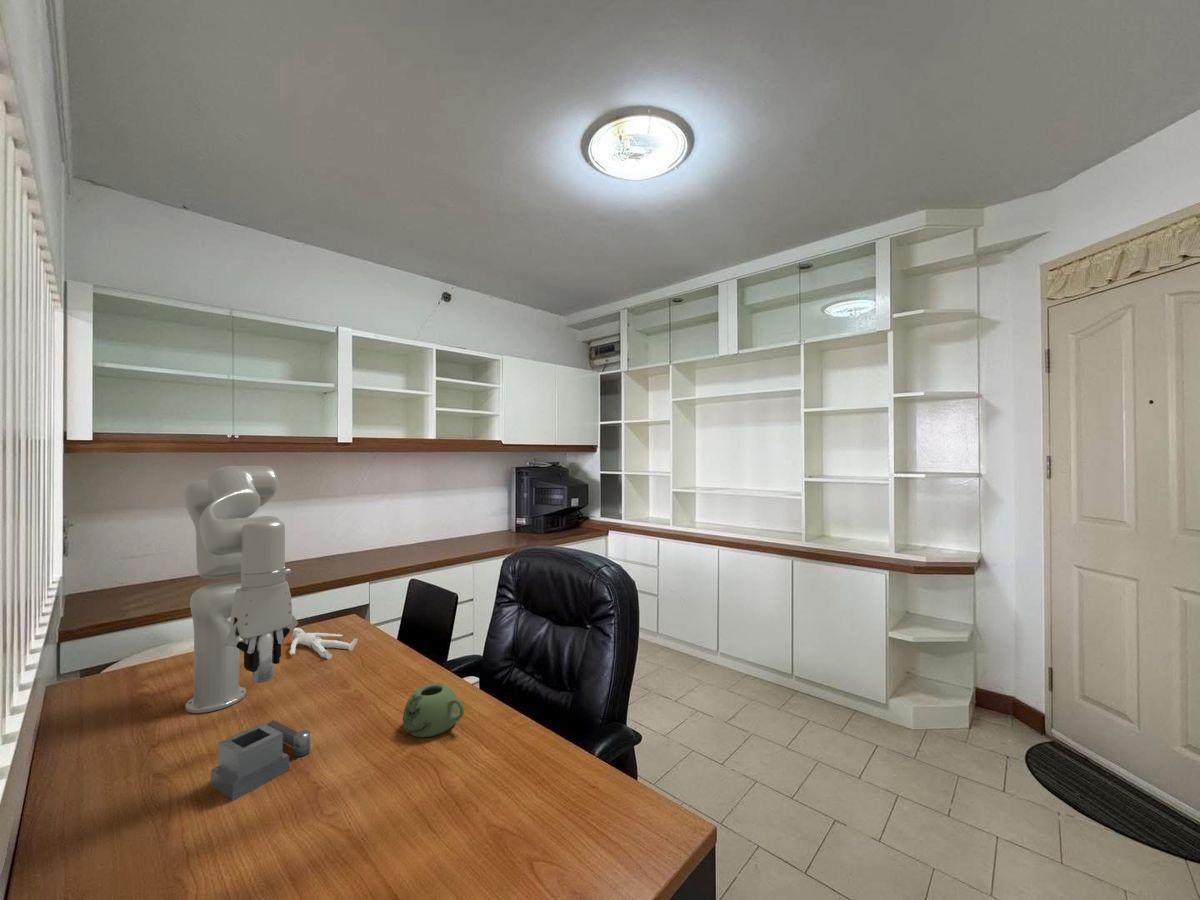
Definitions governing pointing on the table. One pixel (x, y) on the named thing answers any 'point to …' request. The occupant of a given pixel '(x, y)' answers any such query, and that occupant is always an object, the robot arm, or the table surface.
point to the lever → (293, 738)
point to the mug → (431, 710)
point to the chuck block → (249, 761)
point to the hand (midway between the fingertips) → (262, 665)
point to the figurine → (319, 642)
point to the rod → (264, 658)
